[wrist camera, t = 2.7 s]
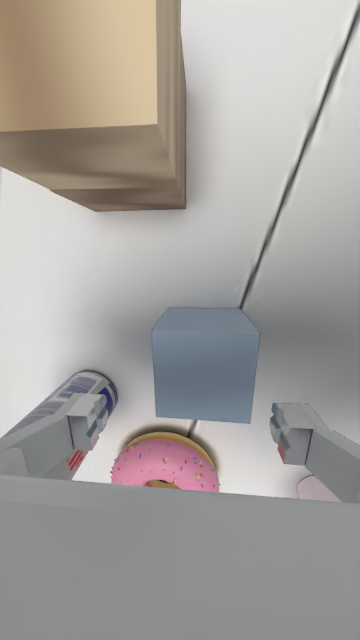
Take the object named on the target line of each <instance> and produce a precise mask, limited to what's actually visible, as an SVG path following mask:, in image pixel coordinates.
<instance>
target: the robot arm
mask: <svg viewBox="0 0 360 640" xmlns="http://www.w3.org/2000/svg"><path fill="white" fill-rule="evenodd" d="M106 403H107V400H106V396H105V395H101V394H87V393H86V394H85V393H75V394H73V395H72V396H71V397H70V398H69V399H68V400H67V401H66V402H65V403H64V404H63V405H62V406H61V407H60V408H59V409H58V410H57V411H56V412H55V414H54V415H49V416H46V417H44V418H42V419H40V420H38V421H36V422H34V423H32V424H30V425H28V426H26V427H24V428H22V429H20V430H18V431H16V432H14V433H11V434H9V435H7V436H5V437H3V438H1V439H0V640H360V445H358V444H356V443H355V442H353V441H351V440H349V439H348V438H346V437H344V436H343V435H341V434H339V433H338V432H336V431H333V430H330V429H329V428H328V427H327V425H326V424H325V423H324V422H323V421H322V419H321V418H320V417H319V416H318V414H317V413H316V412H315V411H314V410H313V408H312V407H311V406H310V405H309V404H307V403H296V404H292V403H273V405H272V412H273V414H274V415H273V416H272V417H271V418H270V431H271V435H272V438H273V440H274V441H275V442H276V443H277V444H278V451H279V454H280V456H281V458H282V460H283V463H284V464H293V465H303V466H305V467H306V468H307V469H308V470H309V471H310V472H311V473H312V474H313V475H314V476H315V477H317V478H318V479H319V480H320V481H321V482H322V483H323V484H324V485H325V486H326V487H327V488H328V489H329V490H330V491H331V492H332V493H333V494H334V495H335V496H336V497H337V498H338V499H339V500H340V501H341V502H331V501H318V500H306V499H293V498H280V497H268V496H256V495H244V494H232V493H221V492H209V491H196V490H184V489H171V488H159V487H147V486H134V485H122V484H110V483H98V482H85V481H73V480H61V479H48V478H41V477H42V476H43V475H44V474H45V473H47V472H48V471H49V470H50V469H52V468H53V467H54V466H55V465H57V464H58V463H59V462H60V461H62V460H63V459H64V458H65V457H67V456H68V455H69V454H70V453H71V452H73V451H74V450H92V449H93V448H94V446H95V444H96V442H97V441H98V439H99V433H100V432H102V431H103V430H104V428H105V426H106V424H107V420H108V409H107V408H106V407H105V404H106Z"/></svg>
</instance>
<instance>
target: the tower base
mask: <svg viewBox="0 0 360 640" xmlns="http://www.w3.org/2000/svg"><path fill="white" fill-rule="evenodd" d="M50 191H52V192H54V193H56V194H58V195H60V196H63V197H65V198H67V199H69V200H71V201H73V202H76V203H78V204H80V205H82V206H84V207H87V208H89V209H91V210H93V211H95V212H101V211H134V210H167V209H186V81H185V71H184V60H183V50H182V40H181V30H180V104H179V179H178V187H173V188H116V189H58V190H50Z"/></svg>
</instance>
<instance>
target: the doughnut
mask: <svg viewBox="0 0 360 640" xmlns="http://www.w3.org/2000/svg"><path fill="white" fill-rule="evenodd" d="M114 460H115V463H114V466H113V467H112V469H113V471H111V473H112V477H111V478H112V483H111V484H122V485H134V486H147V487H159V488H171V489H184V490H196V491H209V492H219V485H220V484H219V480H218V477H217V475H216V470H215V467H214V465H213V462H212V460H211V459H210V457H209V456H208V454H207V453H206V452H205V451H204V450H203V449H202V448H201V447H200V446H199V445H198V444H197V443H195V442H194V441H192V440H190V439H189V438H187V437H184V436H182V435H179V434H175V433H170V432H152V433H147V434H144V435H141V436H139V437H137V438H135V439H134V440H132V441H131V442H130V443H129V444H128V445H127V446H126V447H125V448H124V449H123V451H122V452H120V454H119V455H118V457H117V459H114ZM159 480H164V481H167V482H170V483H166V482H162V481H159Z"/></svg>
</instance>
